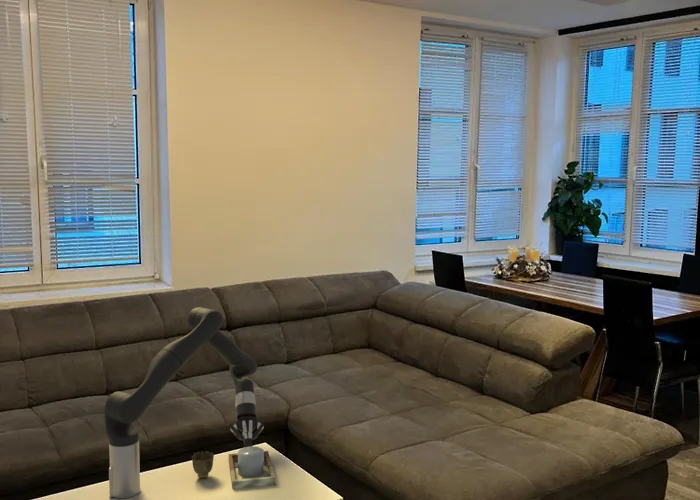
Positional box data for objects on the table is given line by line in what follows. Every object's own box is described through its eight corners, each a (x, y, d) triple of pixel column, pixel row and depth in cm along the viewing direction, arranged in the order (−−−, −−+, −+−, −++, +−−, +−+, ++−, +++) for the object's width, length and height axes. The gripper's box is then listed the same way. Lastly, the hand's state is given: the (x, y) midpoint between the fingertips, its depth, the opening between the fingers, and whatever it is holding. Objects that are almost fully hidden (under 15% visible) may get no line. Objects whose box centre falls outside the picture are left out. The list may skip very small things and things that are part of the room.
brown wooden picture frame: (232, 488, 224) (232, 481, 224) (228, 460, 246) (228, 454, 246) (275, 484, 227) (275, 477, 227) (268, 457, 250) (267, 450, 249)
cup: (208, 483, 228) (208, 460, 227) (188, 480, 230) (188, 458, 229) (217, 473, 236) (217, 451, 235) (197, 471, 237) (197, 449, 236)
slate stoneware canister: (239, 479, 231) (239, 458, 230) (236, 468, 240) (236, 447, 239) (266, 476, 234) (265, 455, 233) (261, 465, 242) (261, 445, 241)
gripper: (228, 402, 251) (230, 447, 241) (263, 400, 254) (267, 444, 244) (227, 411, 257) (229, 455, 246) (262, 409, 260) (266, 452, 250)
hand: (248, 449), depth 245 cm, fingers closed
